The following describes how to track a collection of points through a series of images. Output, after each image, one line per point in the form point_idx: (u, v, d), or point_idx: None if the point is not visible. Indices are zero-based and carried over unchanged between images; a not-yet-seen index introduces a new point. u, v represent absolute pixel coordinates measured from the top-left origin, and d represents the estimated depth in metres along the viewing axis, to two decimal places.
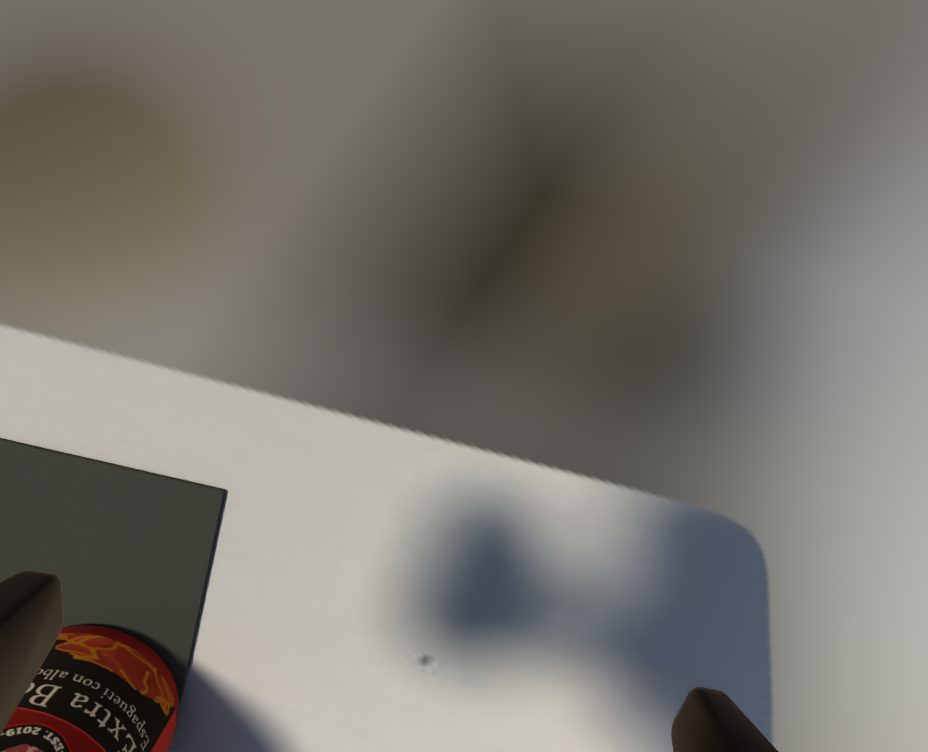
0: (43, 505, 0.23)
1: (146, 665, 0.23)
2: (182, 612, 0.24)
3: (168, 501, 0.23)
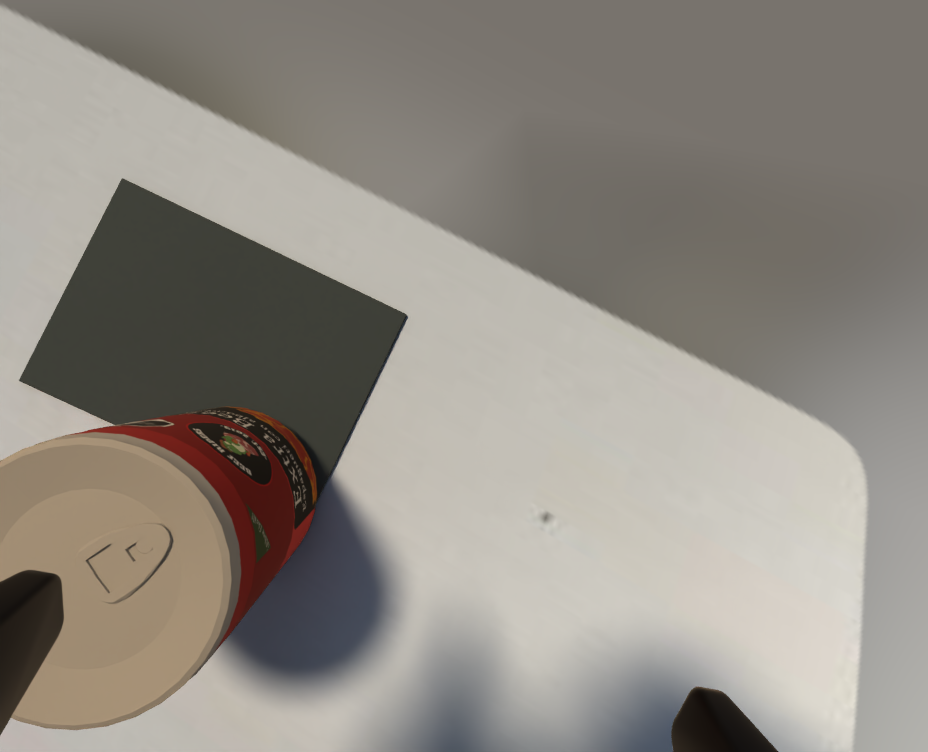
0: (247, 294, 0.26)
1: (305, 452, 0.25)
2: (339, 420, 0.26)
3: (356, 313, 0.26)
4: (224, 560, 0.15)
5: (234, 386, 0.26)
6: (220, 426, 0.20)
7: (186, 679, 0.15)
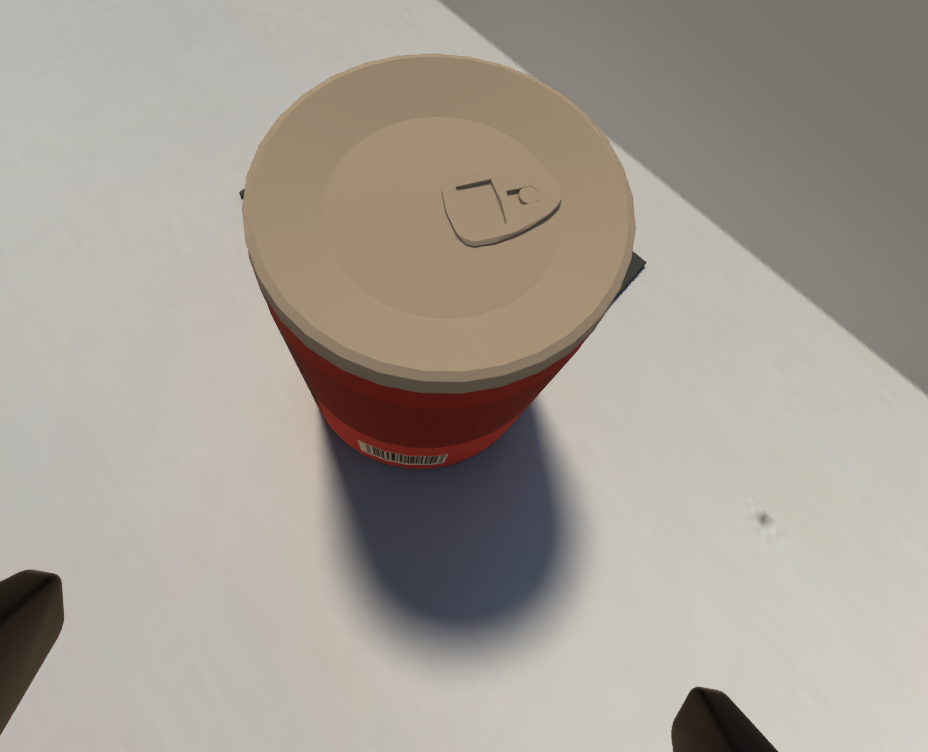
0: None
1: None
2: None
3: None
4: (629, 232, 0.12)
5: None
6: None
7: (547, 355, 0.11)
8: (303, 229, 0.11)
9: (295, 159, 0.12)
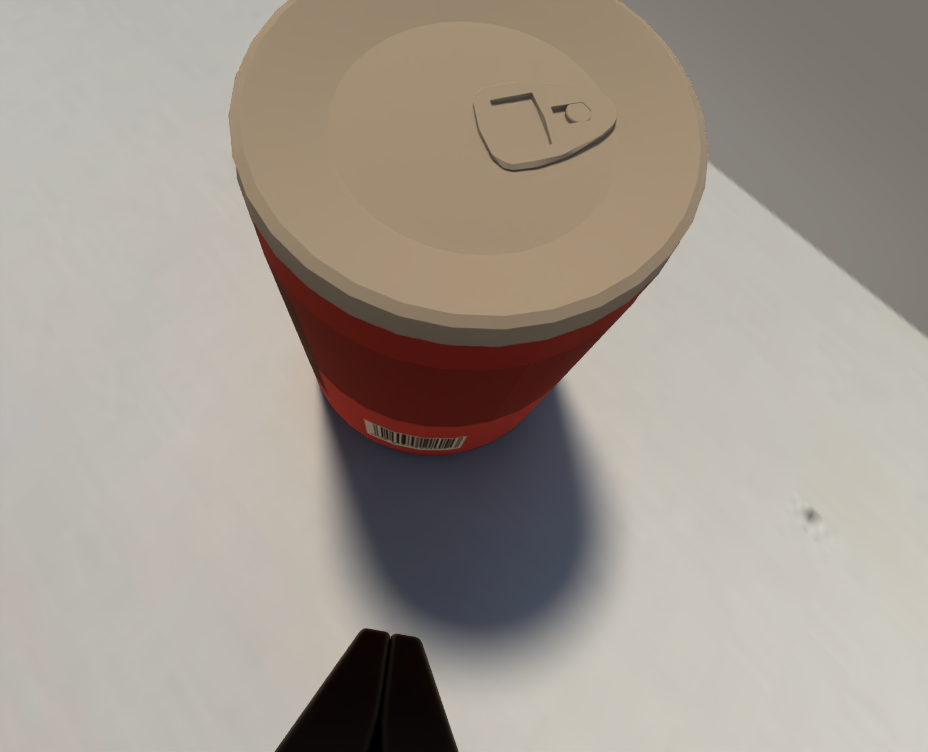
0: None
1: None
2: None
3: None
4: (702, 156, 0.10)
5: None
6: None
7: (606, 299, 0.09)
8: (304, 143, 0.09)
9: (295, 61, 0.09)
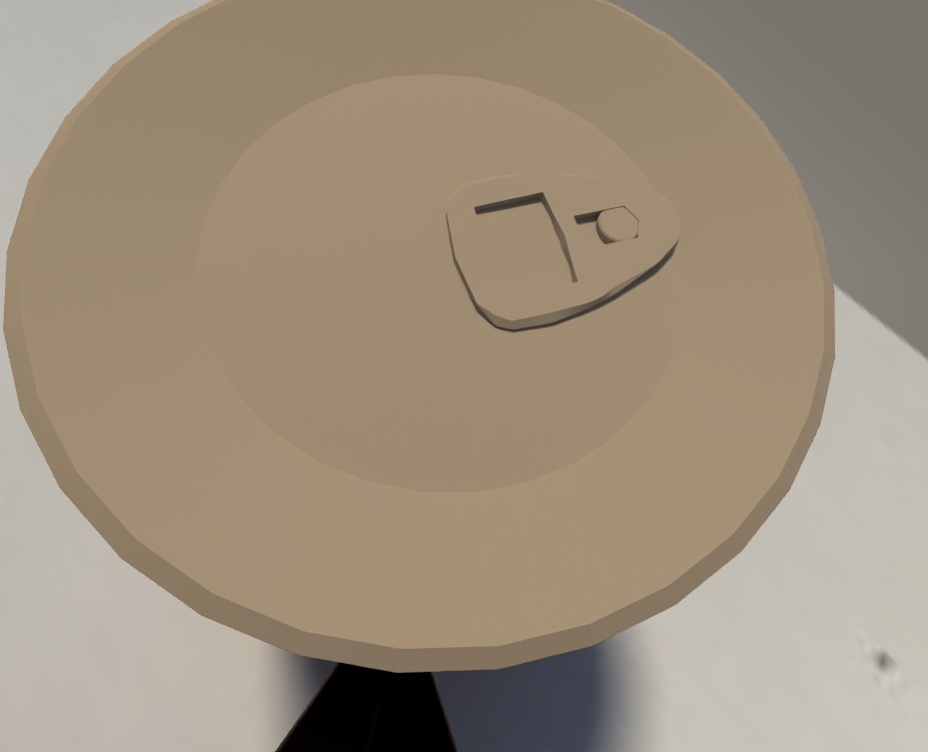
0: None
1: None
2: None
3: None
4: (827, 303, 0.06)
5: None
6: None
7: (684, 590, 0.05)
8: (150, 295, 0.05)
9: (144, 149, 0.06)
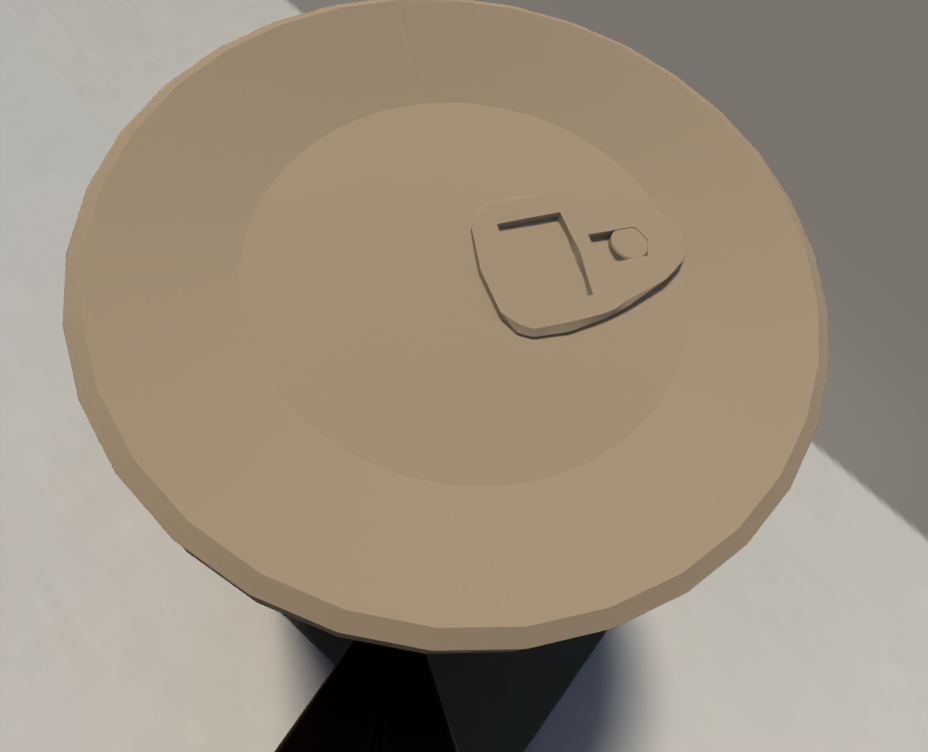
0: None
1: None
2: (570, 639, 0.15)
3: None
4: (821, 318, 0.06)
5: None
6: None
7: (696, 578, 0.05)
8: (196, 297, 0.06)
9: (192, 162, 0.06)
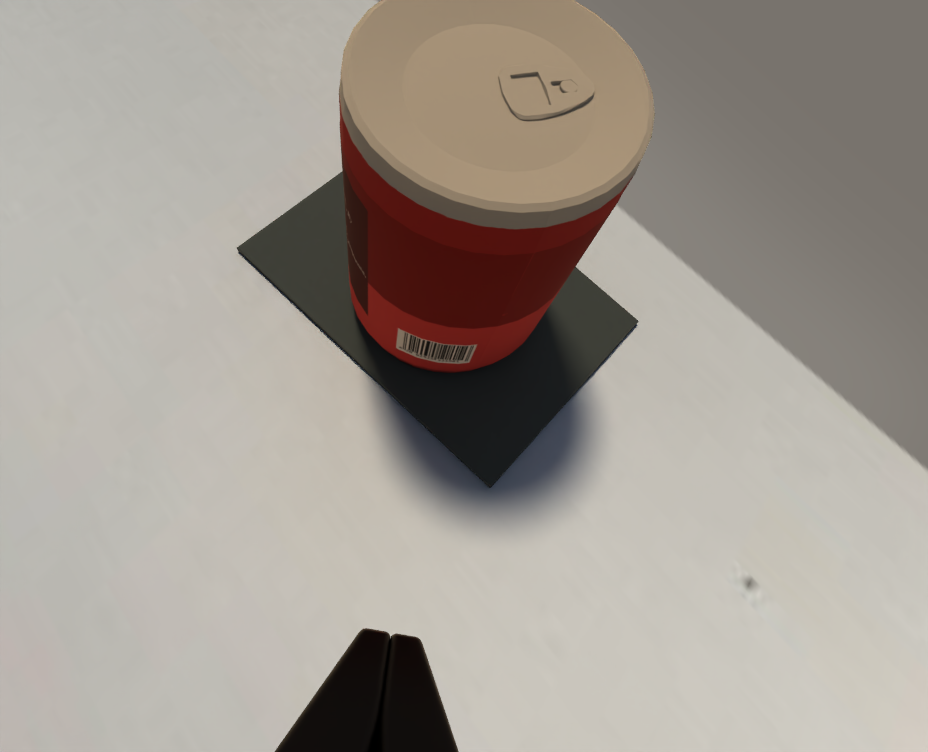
0: None
1: None
2: (548, 398, 0.23)
3: (590, 303, 0.25)
4: (650, 117, 0.15)
5: None
6: None
7: (585, 199, 0.13)
8: (388, 95, 0.14)
9: (381, 43, 0.14)
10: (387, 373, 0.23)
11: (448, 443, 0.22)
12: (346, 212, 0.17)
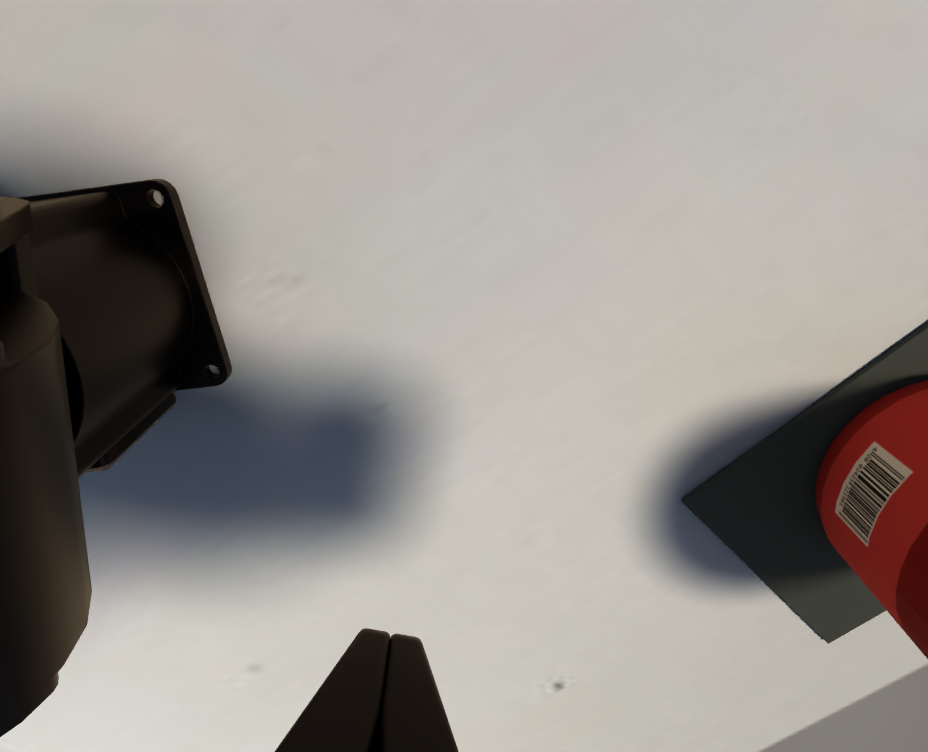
0: None
1: None
2: (764, 559, 0.22)
3: (861, 605, 0.23)
4: None
5: None
6: None
7: None
8: None
9: None
10: (833, 409, 0.20)
11: (736, 466, 0.21)
12: None
